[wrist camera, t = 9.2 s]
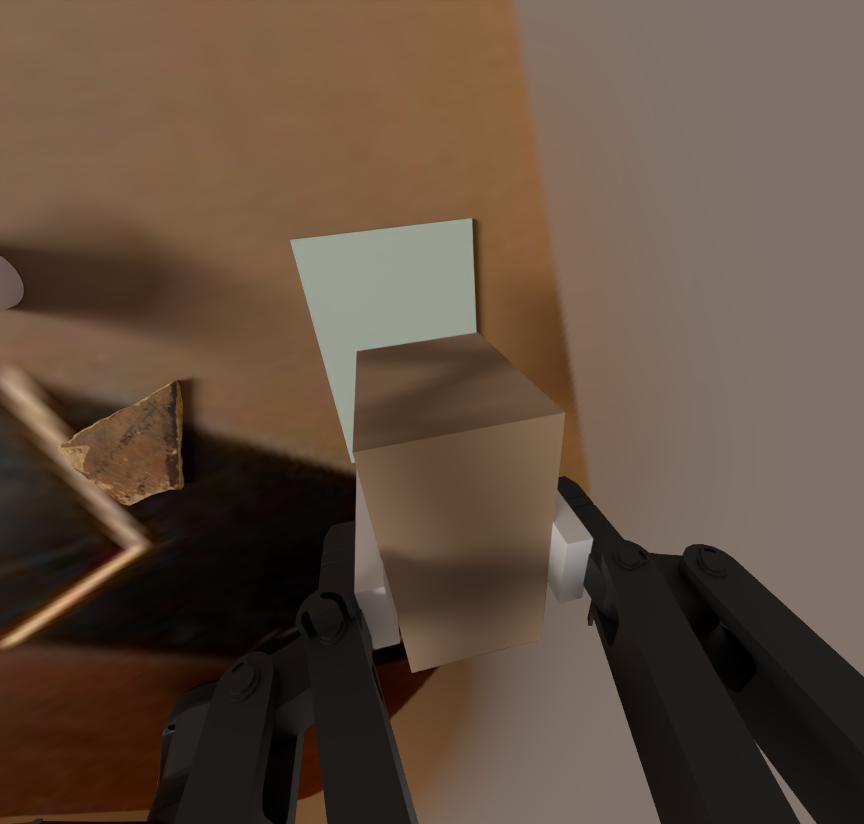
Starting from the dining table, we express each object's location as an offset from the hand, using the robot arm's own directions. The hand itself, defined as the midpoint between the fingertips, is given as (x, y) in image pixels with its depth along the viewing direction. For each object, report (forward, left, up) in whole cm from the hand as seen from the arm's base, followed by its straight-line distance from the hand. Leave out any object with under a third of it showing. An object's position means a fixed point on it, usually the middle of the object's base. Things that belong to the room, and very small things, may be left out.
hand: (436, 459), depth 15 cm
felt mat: (0, 0, -14) cm, 14 cm away
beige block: (0, 0, -1) cm, 1 cm away
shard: (-3, +22, -15) cm, 27 cm away
